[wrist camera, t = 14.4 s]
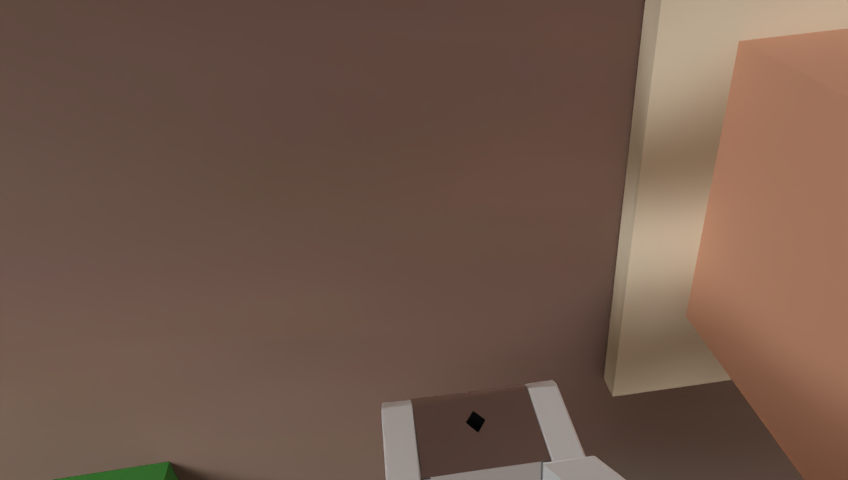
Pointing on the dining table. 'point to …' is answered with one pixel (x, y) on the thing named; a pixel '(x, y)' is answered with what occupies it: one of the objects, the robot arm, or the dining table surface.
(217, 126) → the dining table surface
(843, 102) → the block
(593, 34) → the dining table surface
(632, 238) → the board
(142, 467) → the hardback book
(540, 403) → the robot arm
